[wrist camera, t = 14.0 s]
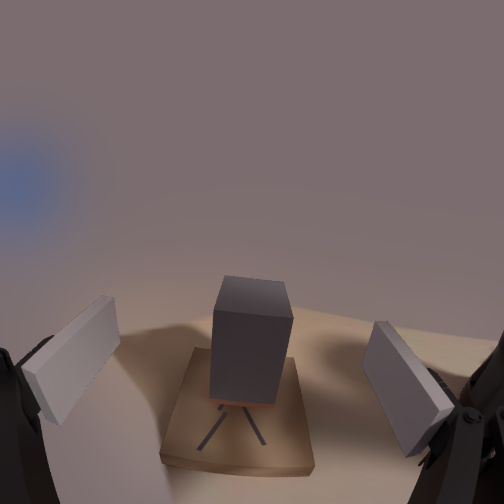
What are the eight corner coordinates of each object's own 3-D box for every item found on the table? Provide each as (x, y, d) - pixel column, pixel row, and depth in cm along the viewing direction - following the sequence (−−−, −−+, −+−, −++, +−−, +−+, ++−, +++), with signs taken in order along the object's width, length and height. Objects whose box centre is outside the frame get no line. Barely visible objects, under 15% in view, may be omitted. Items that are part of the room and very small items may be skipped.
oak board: (291, 368, 32) (293, 357, 31) (309, 475, 16) (315, 466, 16) (194, 358, 31) (194, 347, 31) (162, 463, 16) (159, 452, 15)
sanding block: (269, 360, 30) (283, 281, 28) (273, 408, 22) (293, 317, 20) (218, 355, 30) (224, 275, 28) (209, 402, 22) (213, 309, 20)
